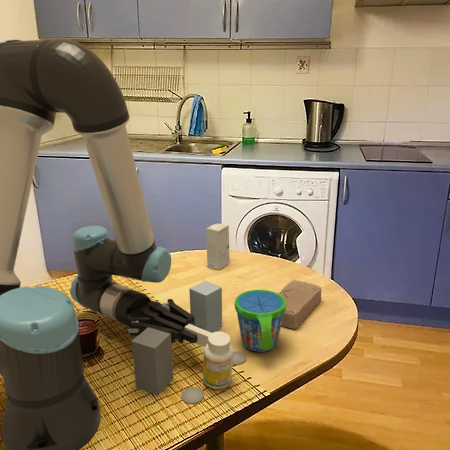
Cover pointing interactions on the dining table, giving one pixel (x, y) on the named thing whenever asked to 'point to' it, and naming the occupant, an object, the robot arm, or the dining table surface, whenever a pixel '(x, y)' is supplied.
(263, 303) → the snack cup
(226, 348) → the supplement bottle
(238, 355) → the coaster right
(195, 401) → the coaster left
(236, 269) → the dining table surface
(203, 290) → the light grey rectangular block
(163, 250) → the robot arm
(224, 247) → the skincare box
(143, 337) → the post charcoal
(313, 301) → the brick
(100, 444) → the dining table surface
